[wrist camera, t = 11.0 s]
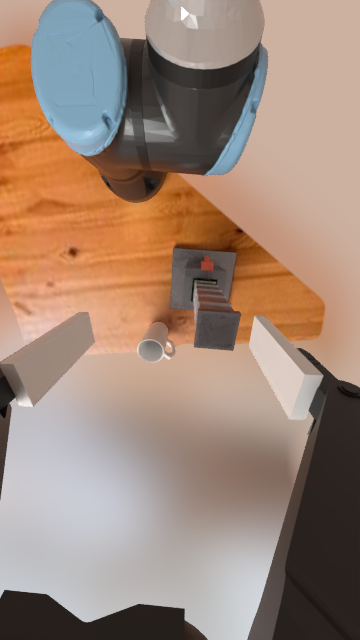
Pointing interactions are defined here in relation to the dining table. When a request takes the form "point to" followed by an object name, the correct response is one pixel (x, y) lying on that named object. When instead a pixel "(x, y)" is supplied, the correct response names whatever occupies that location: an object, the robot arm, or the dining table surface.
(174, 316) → the dining table surface
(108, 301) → the dining table surface
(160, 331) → the mug
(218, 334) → the column
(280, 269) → the dining table surface
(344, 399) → the robot arm
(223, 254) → the sleeve
